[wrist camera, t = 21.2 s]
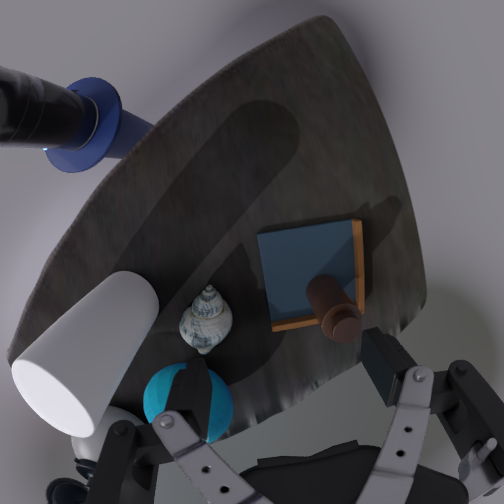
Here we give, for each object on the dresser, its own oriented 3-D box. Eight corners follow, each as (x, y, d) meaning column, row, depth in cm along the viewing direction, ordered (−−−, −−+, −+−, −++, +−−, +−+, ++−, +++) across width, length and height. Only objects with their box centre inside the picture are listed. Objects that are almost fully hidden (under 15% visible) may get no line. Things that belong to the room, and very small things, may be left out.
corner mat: (271, 324, 43) (272, 332, 41) (256, 233, 39) (257, 237, 37) (359, 306, 43) (364, 313, 40) (355, 217, 39) (361, 220, 36)
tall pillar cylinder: (93, 300, 42) (8, 387, 17) (120, 257, 40) (16, 339, 16) (139, 339, 44) (79, 447, 20) (171, 301, 42) (109, 419, 18)
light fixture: (181, 427, 50) (157, 553, 18) (133, 450, 54) (105, 543, 22) (109, 376, 46) (44, 502, 14) (75, 409, 50) (26, 499, 18)
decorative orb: (243, 398, 48) (243, 460, 33) (173, 405, 48) (158, 461, 34) (222, 339, 44) (213, 404, 29) (143, 350, 44) (114, 407, 30)
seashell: (178, 323, 45) (222, 274, 42) (207, 356, 43) (255, 310, 40) (156, 332, 38) (203, 278, 36) (188, 369, 37) (241, 319, 34)
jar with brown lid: (307, 308, 41) (326, 353, 30) (304, 277, 40) (325, 316, 28) (338, 302, 41) (366, 343, 30) (337, 271, 40) (368, 306, 28)
